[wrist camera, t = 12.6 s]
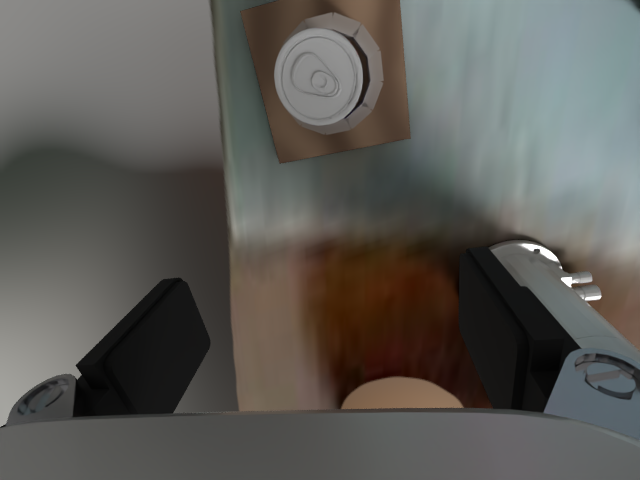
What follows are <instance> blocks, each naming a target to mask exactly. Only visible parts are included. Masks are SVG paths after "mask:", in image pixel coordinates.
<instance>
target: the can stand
mask: <svg viewBox="0 0 640 480" xmlns="http://www.w3.org/2000/svg"><path fill="white" fill-rule="evenodd" d="M240 13H241V16H242V20H243V24H244V28H245V32H246V36H247V40H248V43H249V47H250V51H251V55H252V59H253V63H254V67H255V70H256V74H257V78H258V82H259V86H260V90H261V94H262V97H263V101H264V105H265V109H266V113H267V117H268V121H269V125H270V128H271V132H272V136H273V140H274V144H275V148H276V152H277V155H278V159H279V163H285V162H291V161H296V160H301V159H306V158H311V157H316V156H322V155H327V154H332V153H337V152H342V151H347V150H353V149H358V148H363V147H368V146H373V145H379V144H384V143H389V142H394V141H399V140H404V139H410V125H409V112H408V99H407V87H406V74H405V61H404V48H403V35H402V23H401V10H400V0H278V1H275V2H271V3H268V4H264V5H260V6H257V7H253V8H250V9H246V10H242V11H240ZM312 28H326V29H330V30H334V31H336V32H338V33H339V34H341V35H343V36H344V37H346V38H347V39H348V40H349V41H350V43H351V44H352V45H353V47H354V48H355V50H356V51H357V53H358V56H359V58H360V61H361V65H362V70H363V84H362V90H361V93H360V96H359V99H358V101H357V103H356V105H355V106H354V108H353V109H352V110H351V112H350V113H349V114H348V115H346V116H345V117H344V118H343V119H341V120H339V121H337V122H335V123H332V124H329V125H319V126H317V125H311V124H307V123H305V122H302V121H300V120H299V119H297V118H296V117H294V116H293V115H292V114H291V113H290V112H289V111H288V110H287V109H286V108H285V107H284V105H283V104H282V102H281V100H280V98H279V96H278V94H277V91H276V87H275V80H274V70H275V63H276V60H277V57H278V54H279V52H280V50H281V49H282V47H283V46H284V44H285V43H286V42H287V41H288V40H289V39H290V38H291V37H292V36H294V35H295V34H297V33H299V32H301V31H303V30H306V29H312Z"/></svg>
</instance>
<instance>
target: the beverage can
mask: <svg viewBox="0 0 640 480" xmlns="http://www.w3.org/2000/svg"><path fill="white" fill-rule="evenodd" d="M274 80H275V87H276V91H277V94H278V96H279V98H280V100H281V102H282V104H283V105H284V107H285V108H286V109H287V110H288V111H289V112H290V113H291V114H292V115H293V116H294V117H296V118H297V119H299V120H300V121H302V122H305V123H307V124H311V125H317V126H319V125H329V124H332V123H335V122H337V121H339V120H341V119H343V118H344V117H345V116H346V115H348V114H349V113H350V112H351V110H352V109H353V108H354V106H355V105H356V103H357V101H358V99H359V96H360V93H361V90H362V84H363V70H362V65H361V61H360V58H359V56H358V53H357V51H356V50H355V48H354V47H353V45H352V44H351V43H350V41H349V40H348V39H347V38H346V37H344V36H343V35H341V34H339V33H338V32H336V31H334V30H330V29H326V28H312V29H306V30H303V31H301V32H299V33H297V34H295V35H294V36H292V37H291V38H290V39H289V40H288V41H287V42H286V43H285V44H284V46H283V47H282V49H281V50H280V52H279V54H278V57H277V60H276V63H275V70H274Z"/></svg>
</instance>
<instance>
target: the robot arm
mask: <svg viewBox="0 0 640 480" xmlns="http://www.w3.org/2000/svg"><path fill="white" fill-rule="evenodd" d="M591 281H592V276H591V274H590V273H589V272H588V271H584V272H576V273H571V274H569V273H567V272H564V271H563V270H562V267H561V263H560V261H559V260H558V258H557V257H556V256H555V255H554V254H553V253H552V252H551V251H550V250H549V249H547V248H546V247H544V246H543V245H541V244H538V243H536V242H532V241H527V240H512V241H505V242H502V243H498V244H495V245H493V246H491V247H489V248H488V247H478V248H468V249H467V250H466V253H464V254H460V263H459V328H460V332H461V335H462V337H463V340H464V342H465V344H466V346H467V349H468V351H469V353H470V356H471V358H472V360H473V363H474V365H475V367H476V370H477V372H478V374H479V377H480V379H481V381H482V384H483V386H484V388H485V390H486V393H487V395H488V397H489V400H490V402H491V404H492V407H493V409H483V408H393V409H391V408H390V409H334V410H286V411H244V412H208V413H207V412H204V413H173V412H174V410H175V409H176V407H177V405H178V403H179V401H180V400H181V398H182V396H183V394H184V393H185V391H186V389H187V387H188V385H189V384H190V382H191V380H192V378H193V377H194V375H195V373H196V371H197V369H198V368H199V366H200V364H201V362H202V361H203V359H204V357H205V355H206V353H207V352H208V350H209V347H210V338H209V335H208V333H207V330H206V328H205V325H204V323H203V320H202V318H201V316H200V313H199V311H198V308H197V306H196V303H195V301H194V298H193V296H192V293H191V291H190V288H189V286H188V284H187V283H186V282H185V281H183V280H182V279H181V278H171V279H163V280H162V281H160V282H159V284H157V285H156V286H155V287H154V288H153V289H152V290H151V291H150V292H149V293H148V294H147V295H146V296H145V297H144V298H143V299H142V300H141V301H140V302H139V303H138V304H137V305H136V306H135V307H134V308H133V309H132V310H131V311H130V312H129V313H128V314H127V315H126V316H125V317H124V318H123V319H122V320H121V321H120V322H119V323H118V324H117V325H116V326H115V327H114V328H113V329H112V330H111V331H110V332H109V333H108V334H107V335H106V336H105V337H104V338H103V339H102V340H101V341H100V342H99V343H98V344H97V345H96V346H95V347H94V348H93V349H92V350H91V351H90V352H89V353H88V354H87V355H86V356H85V357H84V358H83V359H82V360H81V361H80V362H79V363H78V364H76V367H77V368H78V369H79V371H80V373H81V374H82V375H81V376H80V378H79V379H78V380H77V379H76V378H75V376H73V375H71V374H62V375H58V376H55V377H52V378H50V379H47V380H45V381H44V382H42V383H40V384H38V385H36V386H35V387H34V388H32V389H31V390H29V391H28V392H27V393H26V394H24V395H23V396H22V397H21V398H20V399H19V400H18V401H17V402H16V404H15V405H14V406H13V408H12V409H11V411H10V414H9V417H8V420H7V423H6V424H5V425H3V426H1V427H0V480H640V351H639V350H638V349H637V348H636V347H635V346H634V345H633V344H632V343H630V342H629V341H628V340H627V339H626V338H625V337H624V336H623V335H622V334H621V333H620V332H619V331H617V330H616V329H615V328H614V327H613V326H612V325H611V324H610V323H609V322H608V321H607V320H605V319H604V318H603V317H602V316H601V315H600V314H599V313H598V312H597V311H596V310H595V309H594V308H592V307H591V306H590V305H589V304H588V303H587V302H586V301H592V300H599V299H600V298H601V291H600V289H599V288H598V287H597V286H596V285H585V286H578V287H574V288H571V287H570V286H571V284H573V283H587V282H591Z"/></svg>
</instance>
